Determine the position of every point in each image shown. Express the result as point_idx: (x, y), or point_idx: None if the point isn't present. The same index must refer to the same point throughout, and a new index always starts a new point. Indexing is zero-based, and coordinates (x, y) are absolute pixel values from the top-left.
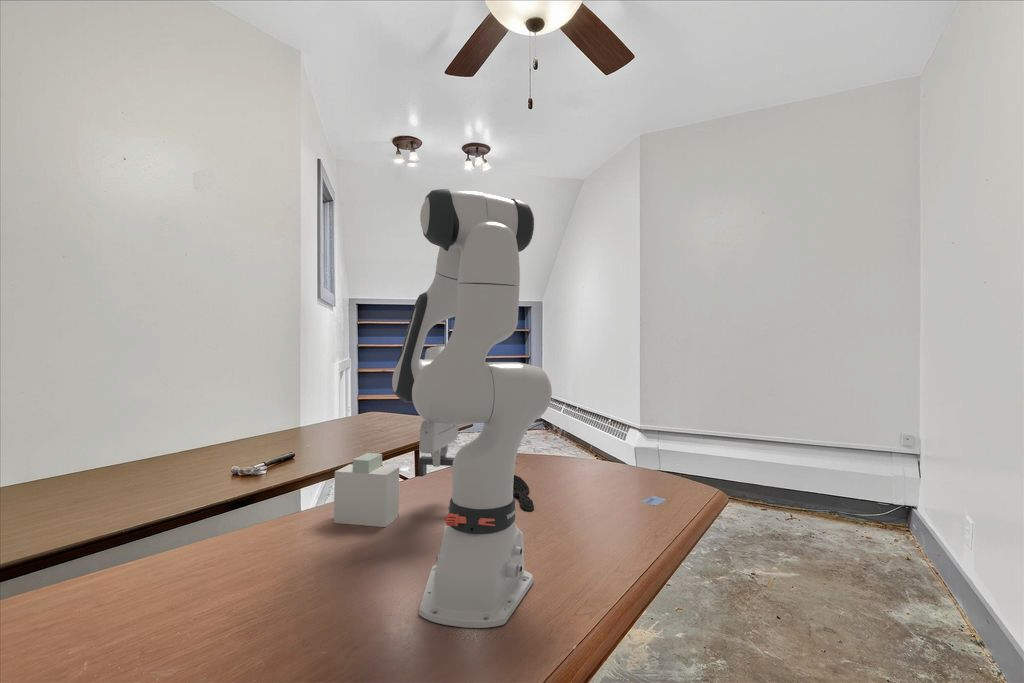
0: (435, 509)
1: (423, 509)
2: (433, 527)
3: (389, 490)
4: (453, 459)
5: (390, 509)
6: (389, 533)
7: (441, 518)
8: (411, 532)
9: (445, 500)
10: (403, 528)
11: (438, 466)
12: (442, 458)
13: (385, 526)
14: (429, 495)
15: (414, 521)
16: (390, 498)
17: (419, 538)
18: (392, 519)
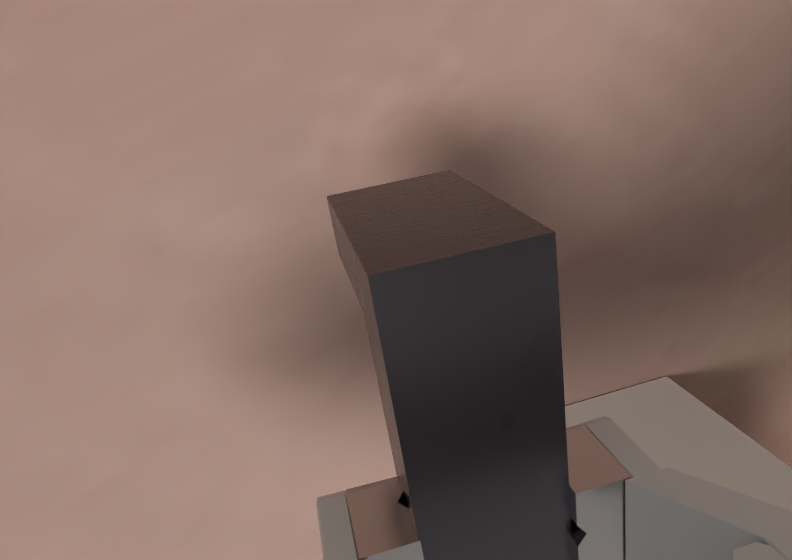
0: (344, 307)
1: (374, 371)
2: (617, 154)
3: (782, 506)
4: (523, 324)
5: (668, 431)
6: (726, 315)
7: (476, 185)
8: (700, 227)
9: (142, 349)
10: (661, 294)
11: (601, 421)
12: (509, 505)
13: (667, 380)
14: (106, 500)
15: (563, 302)
16: (719, 471)
17: (761, 144)
18: (603, 402)
